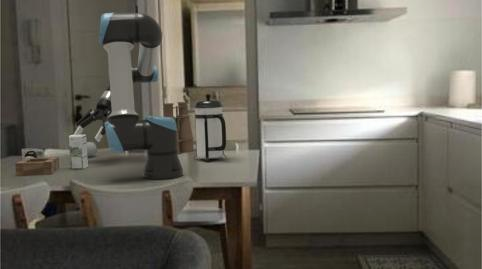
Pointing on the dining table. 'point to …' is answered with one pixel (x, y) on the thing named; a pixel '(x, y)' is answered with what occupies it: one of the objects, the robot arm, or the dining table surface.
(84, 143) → the syrup box
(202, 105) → the coffee press
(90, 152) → the grey cylinder
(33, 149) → the mug
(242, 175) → the dining table surface
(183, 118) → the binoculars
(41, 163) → the holder block
